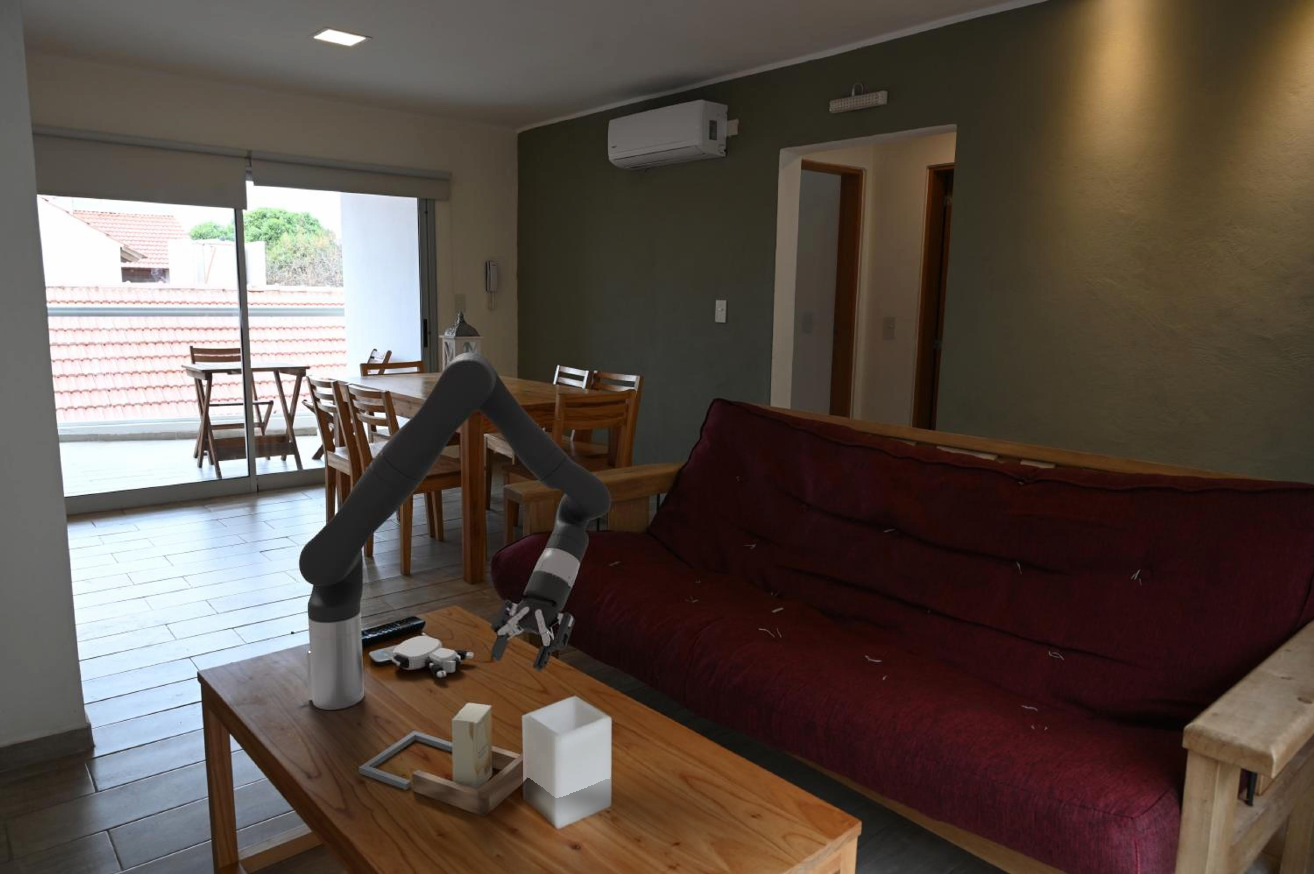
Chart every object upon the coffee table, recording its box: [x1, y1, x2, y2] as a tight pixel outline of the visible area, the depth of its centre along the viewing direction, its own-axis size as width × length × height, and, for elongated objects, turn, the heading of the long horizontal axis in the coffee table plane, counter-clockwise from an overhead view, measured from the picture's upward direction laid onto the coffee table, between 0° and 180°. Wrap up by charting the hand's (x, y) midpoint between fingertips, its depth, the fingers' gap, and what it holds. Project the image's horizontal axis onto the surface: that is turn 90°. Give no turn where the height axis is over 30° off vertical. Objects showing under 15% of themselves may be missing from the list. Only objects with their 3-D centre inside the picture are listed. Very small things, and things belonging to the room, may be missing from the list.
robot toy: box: [383, 632, 475, 678], centre depth 174 cm, size 12×4×15 cm
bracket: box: [358, 730, 452, 791], centre depth 140 cm, size 10×13×1 cm
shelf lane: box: [411, 745, 524, 817], centre depth 134 cm, size 14×12×4 cm
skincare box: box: [451, 702, 493, 790], centre depth 133 cm, size 6×4×12 cm
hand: (515, 664), depth 142 cm, fingers open, 8 cm apart
